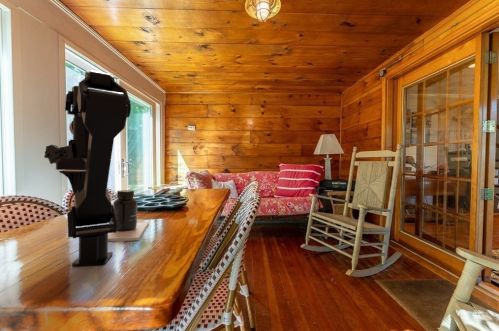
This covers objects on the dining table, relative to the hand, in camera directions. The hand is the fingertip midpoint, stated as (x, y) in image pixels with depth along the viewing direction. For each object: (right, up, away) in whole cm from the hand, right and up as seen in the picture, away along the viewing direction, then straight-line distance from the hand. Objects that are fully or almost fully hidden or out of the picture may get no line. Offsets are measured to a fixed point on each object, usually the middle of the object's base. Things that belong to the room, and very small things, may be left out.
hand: (85, 195), depth 71 cm
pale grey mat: (+4, -13, +13) cm, 18 cm away
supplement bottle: (+4, -12, +13) cm, 19 cm away
